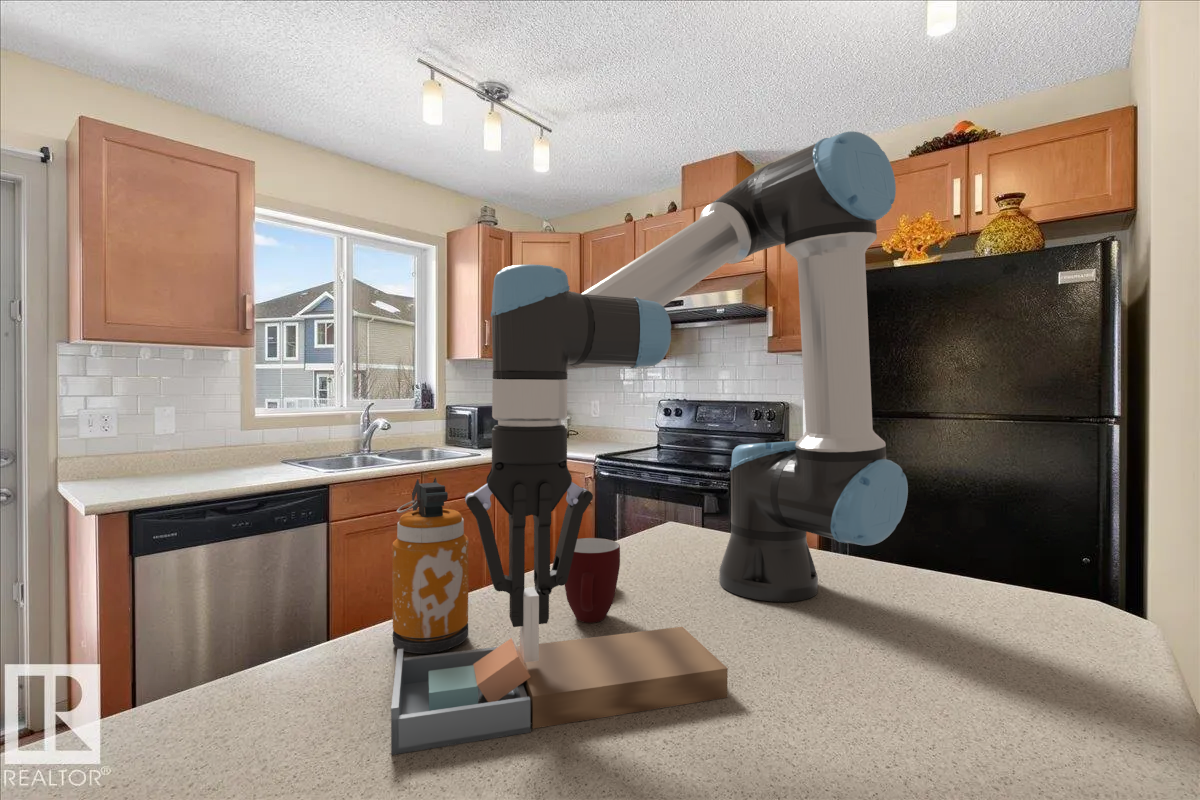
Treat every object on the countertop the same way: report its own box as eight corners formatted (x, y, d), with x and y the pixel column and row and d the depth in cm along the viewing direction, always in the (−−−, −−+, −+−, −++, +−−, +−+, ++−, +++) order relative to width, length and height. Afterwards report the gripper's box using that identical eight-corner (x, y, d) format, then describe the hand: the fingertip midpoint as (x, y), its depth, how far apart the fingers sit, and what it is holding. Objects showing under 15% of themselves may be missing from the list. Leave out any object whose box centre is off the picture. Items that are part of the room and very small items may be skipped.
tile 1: (428, 670, 59) (428, 695, 59) (428, 693, 55) (428, 719, 55) (474, 665, 61) (474, 689, 61) (478, 686, 56) (478, 712, 56)
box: (511, 671, 65) (511, 636, 65) (530, 732, 54) (530, 688, 54) (397, 687, 62) (397, 649, 62) (391, 754, 51) (391, 708, 50)
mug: (624, 636, 75) (624, 558, 75) (560, 638, 74) (561, 559, 74) (617, 606, 86) (617, 537, 85) (561, 607, 85) (561, 538, 85)
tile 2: (523, 657, 62) (511, 637, 62) (530, 677, 58) (518, 656, 57) (485, 683, 61) (473, 664, 61) (490, 705, 57) (477, 685, 56)
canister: (399, 665, 67) (398, 489, 67) (385, 629, 77) (385, 476, 77) (476, 649, 71) (476, 483, 71) (454, 617, 81) (454, 472, 81)
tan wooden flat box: (682, 651, 71) (682, 626, 71) (727, 697, 60) (727, 668, 60) (515, 673, 65) (515, 646, 65) (532, 728, 55) (532, 696, 54)
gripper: (582, 420, 65) (581, 633, 65) (461, 421, 61) (460, 647, 62) (602, 424, 58) (601, 664, 58) (466, 425, 54) (465, 682, 54)
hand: (529, 655), depth 60 cm, fingers closed
